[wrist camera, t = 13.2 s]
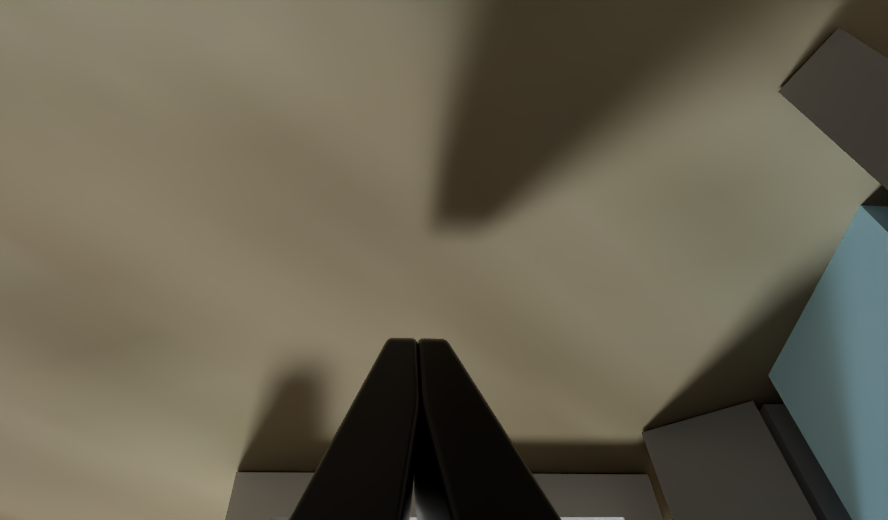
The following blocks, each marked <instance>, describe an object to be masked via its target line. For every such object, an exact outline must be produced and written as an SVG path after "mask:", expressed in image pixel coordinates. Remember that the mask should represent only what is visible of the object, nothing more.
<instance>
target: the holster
mask: <svg viewBox="0 0 888 520" xmlns="http://www.w3.org/2000/svg"><path fill="white" fill-rule="evenodd" d="M313 474H314V473H268V472H236V476H235V480H234V485H233V489H232V493H231V498H230V502H229V506H228V511H227V515H226V519H225V520H289V518H290V516H291V515H292V513H293V511H294V509H295V507H296V505H297V504H298V502H299V500H300V498H301V496H302V494H303V493H304V491H305V489H306V487H307V485H308V484H309V482H310V480H311V478H312V476H313ZM533 476H534V477H535V479H536V481H537V482H538V484H539V485H540V487H541V488H542V490H543V492H544V493H545V495H546V496H547V498H548V499H549V501H550V503H551V504H552V506H553V507H554V509H555V510H556V512H557V513H558V515H559V517H560V518H561V520H663V517H662V514H661V512H660V509H659V506H658V503H657V500H656V497H655V494H654V491H653V488H652V485H651V482H650V479H649V476H648V475H647V474H533ZM410 520H417V514H416V505H415V494H414V482H413V493H412V504H411V512H410Z"/></svg>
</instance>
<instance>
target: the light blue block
mask: <svg viewBox="0 0 888 520" xmlns="http://www.w3.org/2000/svg"><path fill="white" fill-rule="evenodd" d="M768 376H769V378H770V380H771V381H772V383H773V385H774V386H775V388H776V390H777V392H778V393H779V395H780V397H781V398H782V400H783V402H784V404H785V405H786V407H787V409H788V410H789V412H790V414H791V416H792V417H793V419H794V421H795V422H796V424H797V426H798V428H799V429H800V431H801V433H802V435H803V436H804V438H805V440H806V441H807V443H808V445H809V447H810V448H811V450H812V452H813V453H814V455H815V457H816V459H817V460H818V462H819V464H820V465H821V467H822V469H823V471H824V472H825V474H826V476H827V477H828V479H829V481H830V483H831V484H832V486H833V488H834V489H835V491H836V493H837V495H838V496H839V498H840V500H841V501H842V503H843V505H844V507H845V508H846V510H847V512H848V514H849V515H850V517H851V519H852V520H888V207H887V206H865V205H860V207H859V209H858V211H857V213H856V214H855V216H854V218H853V220H852V222H851V224H850V225H849V227H848V229H847V231H846V233H845V235H844V237H843V238H842V240H841V242H840V244H839V246H838V248H837V249H836V251H835V253H834V255H833V257H832V259H831V260H830V262H829V264H828V266H827V268H826V270H825V272H824V273H823V275H822V277H821V279H820V281H819V283H818V284H817V286H816V288H815V290H814V292H813V294H812V296H811V297H810V299H809V301H808V303H807V305H806V307H805V308H804V310H803V312H802V314H801V316H800V318H799V319H798V321H797V323H796V325H795V327H794V329H793V331H792V332H791V334H790V336H789V338H788V340H787V342H786V343H785V345H784V347H783V349H782V351H781V353H780V355H779V356H778V358H777V360H776V362H775V364H774V366H773V367H772V369H771V371H770V373H769V375H768Z"/></svg>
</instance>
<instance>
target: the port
mask: <svg viewBox="0 0 888 520" xmlns="http://www.w3.org/2000/svg"><path fill="white" fill-rule="evenodd" d="M778 92H779V93H781V94H782V95H783V96H784V97H785V98H786V99H787V100H788V101H789V102H791V103H792V104H793V105H794V106H795V107H796V108H797V109H798V110H799V111H801V112H802V113H803V114H804V115H805V116H806V117H807V118H808V119H809V120H810V121H812V122H813V123H814V124H815V125H816V126H817V127H818V128H819V129H820V130H822V131H823V132H824V133H825V134H826V135H827V136H828V137H829V138H830V139H832V140H833V141H834V142H835V143H836V144H837V145H838V146H839V147H840V148H841V149H843V150H844V151H845V152H846V153H847V154H848V155H849V156H850V157H851V158H853V159H854V160H855V161H856V162H857V163H858V164H859V165H860V166H861V167H863V168H864V169H865V170H866V171H867V172H868V173H869V174H870V175H871V176H873V177H874V178H875V179H876V180H877V181H878V182H879V183H880V184H881V185H882V186H884V187H885V188H886V189H887V190H888V58H887V57H885V56H884V55H882V54H881V53H879V52H877V51H876V50H874V49H873V48H871V47H869V46H868V45H866V44H865V43H863V42H861V41H860V40H858V39H857V38H855V37H854V36H852V35H850V34H849V33H847V32H846V31H844V30H842V29H841V28H838V29H837V30H836V31H835V32H834V33H833V34H832V35H831V36H830V37H829V38H828V39H827V40H826V42H825V43H824V44H823V45H822V46H821V47H820V48H819V49H818V50H817V51H816V52H815V53H814V54H813V55H812V56H811V57H810V59H809V60H808V61H807V62H806V63H805V64H804V65H803V66H802V67H801V68H800V69H799V70H798V71H797V72H796V73H795V74H794V76H793V77H792V78H791V79H790V80H789V81H788V82H787V83H786V84H785V85H784V86H783V87H782V88H781V89H780V90H779V91H778ZM642 435H643V438H644V441H645V443H646V446H647V449H648V452H649V455H650V458H651V461H652V463H653V466H654V469H655V472H656V475H657V478H658V481H659V483H660V486H661V489H662V492H663V495H664V498H665V501H666V503H667V506H668V509H669V512H670V515H671V518H672V520H852V519H851V517H850V515H849V514H848V512H847V510H846V508H845V507H844V505H843V503H842V501H841V500H840V498H839V496H838V495H837V493H836V491H835V489H834V488H833V486H832V484H831V483H830V481H829V479H828V477H827V476H826V474H825V472H824V471H823V469H822V467H821V465H820V464H819V462H818V460H817V459H816V457H815V455H814V453H813V452H812V450H811V448H810V447H809V445H808V443H807V441H806V440H805V438H804V436H803V435H802V433H801V431H800V429H799V428H798V426H797V424H796V422H795V421H794V419H793V417H792V416H791V414H790V412H789V410H788V409H787V407H786V405H785V404H763V406H762V408H761V409H760V411H758V409H757V407H756V405H755V403H754V401H750V402H747V403H743V404H740V405H736V406H733V407H729V408H726V409H722V410H719V411H715V412H712V413H708V414H705V415H701V416H698V417H694V418H691V419H687V420H684V421H680V422H677V423H673V424H670V425H666V426H663V427H659V428H656V429H652V430H649V431H645V432H642Z"/></svg>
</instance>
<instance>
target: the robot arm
mask: <svg viewBox="0 0 888 520" xmlns="http://www.w3.org/2000/svg"><path fill="white" fill-rule="evenodd" d="M413 482H414V494H415V505H416V514H417V520H561V518H560V517H559V515H558V513H557V512H556V510H555V509H554V507H553V506H552V504H551V503H550V501H549V499H548V498H547V496H546V495H545V493H544V492H543V490H542V488H541V487H540V485H539V484H538V482H537V481H536V479H535V477H534V476H533V474H532V473H531V471H530V470H529V468H528V466H527V465H526V463H525V462H524V460H523V459H522V457H521V455H520V454H519V452H518V451H517V449H516V448H515V446H514V444H513V443H512V441H511V440H510V438H509V437H508V435H507V434H506V432H505V430H504V429H503V427H502V426H501V424H500V423H499V421H498V419H497V418H496V416H495V415H494V413H493V412H492V410H491V408H490V407H489V405H488V404H487V402H486V401H485V399H484V397H483V396H482V394H481V393H480V391H479V390H478V388H477V386H476V385H475V383H474V382H473V380H472V379H471V377H470V375H469V374H468V372H467V371H466V369H465V368H464V366H463V364H462V363H461V361H460V360H459V358H458V357H457V355H456V354H455V352H454V350H453V349H452V347H451V346H450V344H449V343H448V342H447V341H446V340H444V339H420V340H419V341H418V343H417V342H416V340H415V339H413V338H390V339H388V340H387V341H386V343H385V345H384V346H383V348H382V350H381V352H380V354H379V356H378V357H377V359H376V361H375V363H374V365H373V367H372V368H371V370H370V372H369V374H368V376H367V378H366V379H365V381H364V383H363V385H362V387H361V388H360V390H359V392H358V394H357V396H356V398H355V399H354V401H353V403H352V405H351V407H350V409H349V410H348V412H347V414H346V416H345V418H344V420H343V421H342V423H341V425H340V427H339V429H338V431H337V432H336V434H335V436H334V438H333V440H332V441H331V443H330V445H329V447H328V449H327V451H326V452H325V454H324V456H323V458H322V460H321V462H320V463H319V465H318V467H317V469H316V471H315V473H314V474H313V476H312V478H311V480H310V482H309V484H308V485H307V487H306V489H305V491H304V493H303V494H302V496H301V498H300V500H299V502H298V504H297V505H296V507H295V509H294V511H293V513H292V515H291V516H290V518H289V520H410V512H411V504H412V493H413Z"/></svg>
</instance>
